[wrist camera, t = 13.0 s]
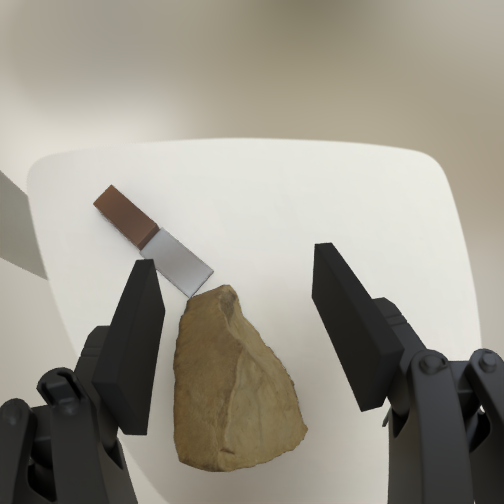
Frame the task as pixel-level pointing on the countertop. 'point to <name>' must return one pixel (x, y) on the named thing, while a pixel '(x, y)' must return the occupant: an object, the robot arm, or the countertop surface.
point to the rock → (229, 389)
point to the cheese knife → (154, 242)
